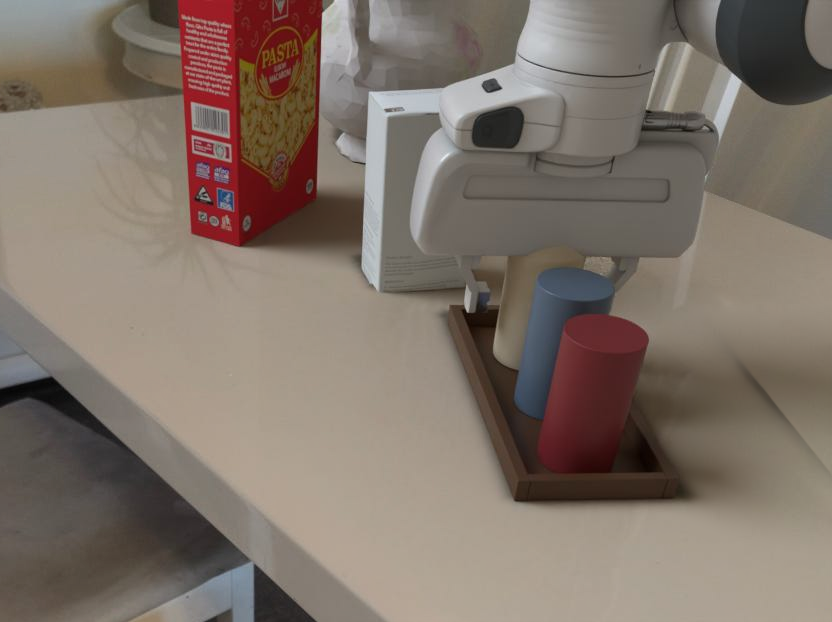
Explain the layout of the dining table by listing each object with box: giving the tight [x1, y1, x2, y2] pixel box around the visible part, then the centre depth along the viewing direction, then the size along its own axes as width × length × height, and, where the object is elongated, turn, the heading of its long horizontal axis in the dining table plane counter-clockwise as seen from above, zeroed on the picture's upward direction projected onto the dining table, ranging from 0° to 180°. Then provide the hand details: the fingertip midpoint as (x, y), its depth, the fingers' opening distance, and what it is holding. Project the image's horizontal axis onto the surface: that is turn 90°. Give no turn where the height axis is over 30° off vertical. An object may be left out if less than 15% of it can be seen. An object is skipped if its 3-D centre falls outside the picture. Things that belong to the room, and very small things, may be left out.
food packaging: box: [177, 0, 324, 247], centre depth 86 cm, size 15×5×25 cm, turn 153°
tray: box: [447, 304, 680, 502], centre depth 71 cm, size 11×25×2 cm, turn 6°
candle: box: [493, 246, 587, 371], centre depth 72 cm, size 6×6×10 cm
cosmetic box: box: [361, 88, 466, 293], centre depth 81 cm, size 8×6×15 cm
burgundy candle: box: [537, 314, 650, 474], centre depth 63 cm, size 5×5×9 cm
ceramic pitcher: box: [319, 0, 484, 164], centre depth 102 cm, size 22×20×25 cm
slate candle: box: [514, 267, 615, 420], centre depth 68 cm, size 5×5×9 cm
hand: (536, 310), depth 73 cm, fingers open, 8 cm apart
